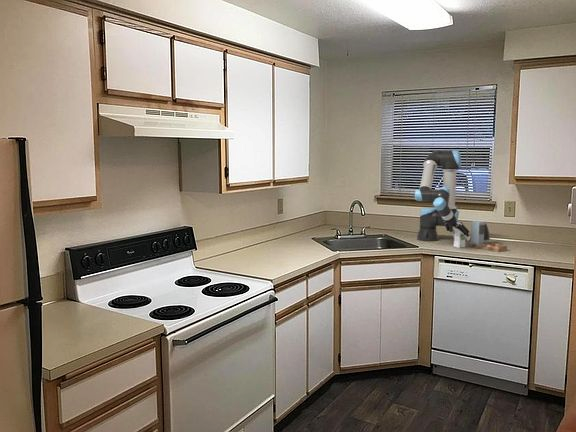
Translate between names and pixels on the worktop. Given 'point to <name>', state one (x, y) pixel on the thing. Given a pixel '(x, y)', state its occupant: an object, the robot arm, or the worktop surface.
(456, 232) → the syrup box
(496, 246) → the rail
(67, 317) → the worktop surface
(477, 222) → the blue-grey tall block
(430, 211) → the robot arm
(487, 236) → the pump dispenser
